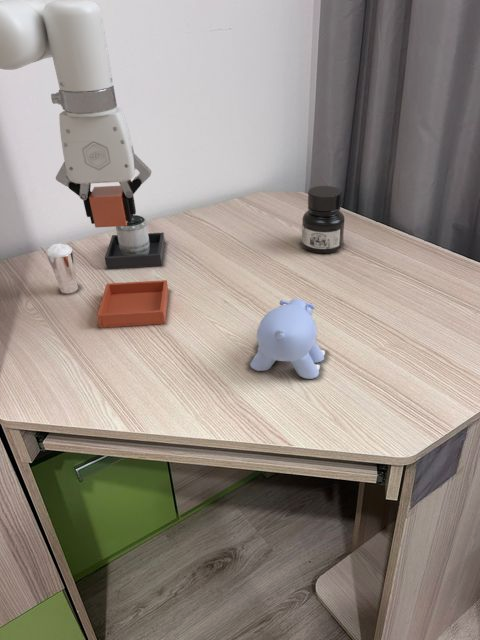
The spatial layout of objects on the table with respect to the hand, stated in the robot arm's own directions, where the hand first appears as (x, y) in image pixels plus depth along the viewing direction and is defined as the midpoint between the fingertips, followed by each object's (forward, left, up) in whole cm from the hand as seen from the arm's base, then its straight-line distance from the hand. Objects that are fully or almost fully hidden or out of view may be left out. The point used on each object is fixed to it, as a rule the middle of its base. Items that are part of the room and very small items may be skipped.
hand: (112, 218), depth 89 cm
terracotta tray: (+1, -2, -17) cm, 17 cm away
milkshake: (-13, +7, -17) cm, 22 cm away
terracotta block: (0, 0, 0) cm, 0 cm away
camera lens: (-1, +20, -16) cm, 26 cm away
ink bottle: (+39, +20, -17) cm, 47 cm away
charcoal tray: (-1, +20, -17) cm, 26 cm away
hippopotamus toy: (+27, -19, -17) cm, 37 cm away
